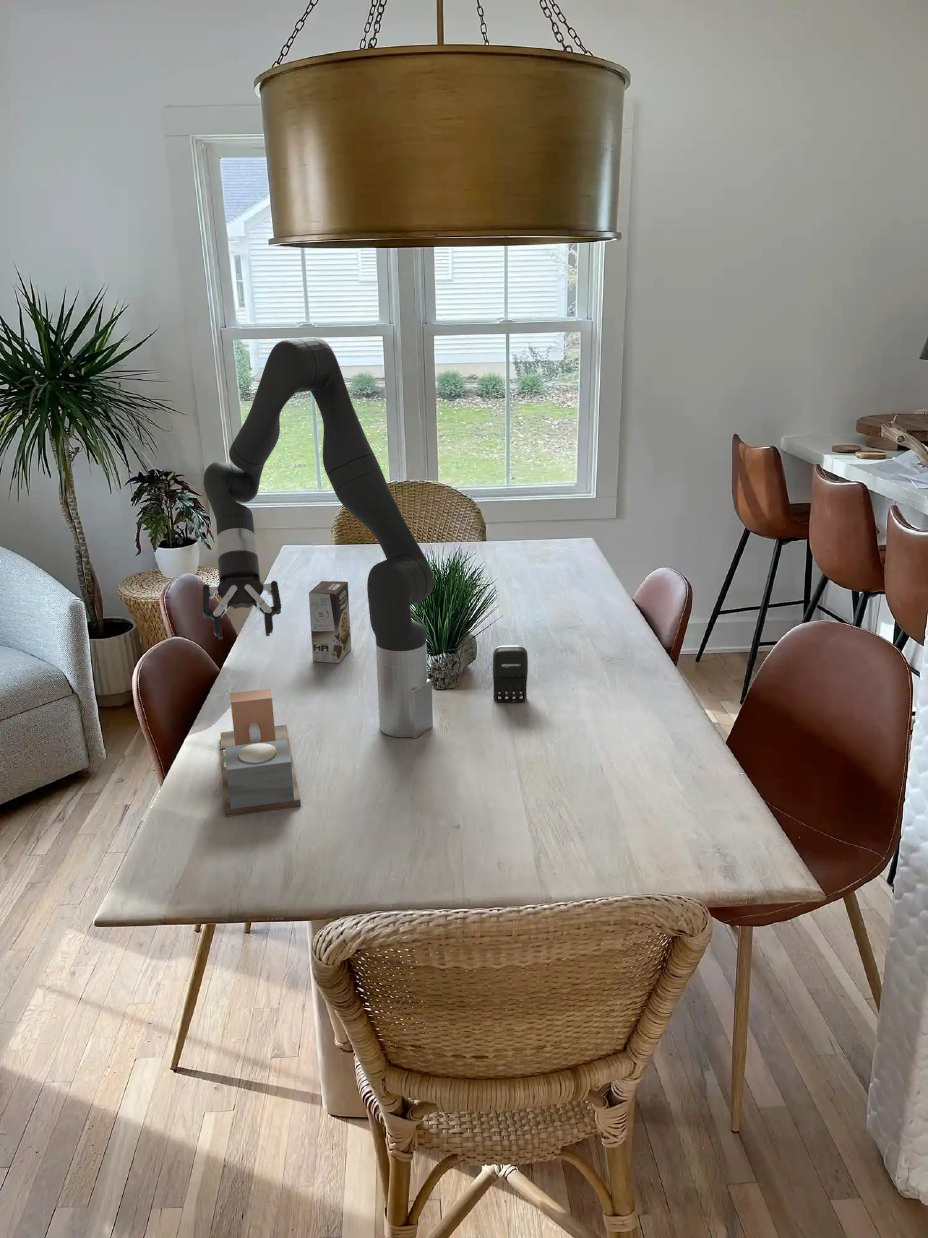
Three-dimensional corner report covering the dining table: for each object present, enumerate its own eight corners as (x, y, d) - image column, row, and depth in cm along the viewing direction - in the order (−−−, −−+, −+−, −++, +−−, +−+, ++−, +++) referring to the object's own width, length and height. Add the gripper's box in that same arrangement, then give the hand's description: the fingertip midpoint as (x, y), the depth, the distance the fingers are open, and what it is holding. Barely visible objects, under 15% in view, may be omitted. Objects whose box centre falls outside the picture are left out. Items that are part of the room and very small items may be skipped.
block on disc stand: (220, 745, 174) (214, 694, 171) (274, 739, 177) (270, 688, 173) (221, 769, 166) (215, 716, 163) (278, 762, 168) (274, 709, 165)
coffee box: (339, 663, 213) (335, 594, 208) (312, 661, 214) (307, 592, 209) (352, 648, 222) (349, 580, 216) (325, 646, 223) (321, 579, 217)
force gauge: (221, 738, 180) (216, 696, 177) (286, 730, 183) (283, 688, 180) (224, 816, 155) (219, 768, 152) (301, 806, 158) (297, 758, 155)
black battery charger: (492, 705, 193) (492, 651, 189) (492, 697, 196) (492, 644, 192) (528, 705, 193) (528, 651, 189) (527, 697, 196) (527, 644, 192)
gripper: (198, 550, 181) (204, 631, 175) (276, 546, 184) (284, 626, 178) (199, 568, 187) (205, 646, 182) (275, 564, 191) (282, 641, 185)
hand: (244, 636), depth 180 cm, fingers open, 8 cm apart
